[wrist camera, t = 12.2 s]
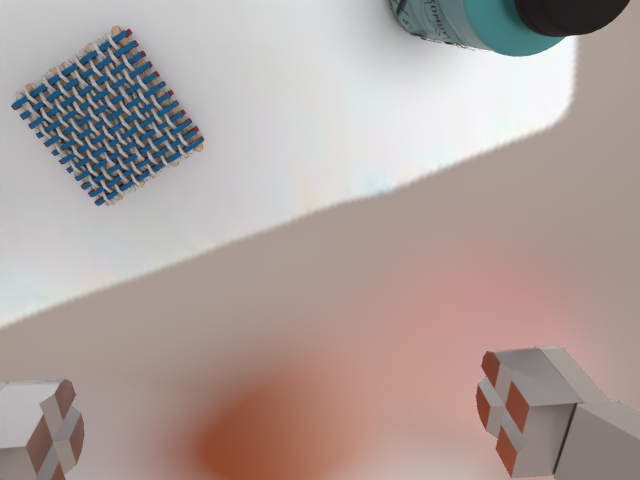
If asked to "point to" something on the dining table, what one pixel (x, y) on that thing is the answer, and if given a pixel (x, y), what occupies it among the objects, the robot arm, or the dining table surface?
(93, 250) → the dining table surface
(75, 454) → the robot arm
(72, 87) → the woven mat
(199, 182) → the dining table surface
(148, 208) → the dining table surface
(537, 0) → the beverage bottle
